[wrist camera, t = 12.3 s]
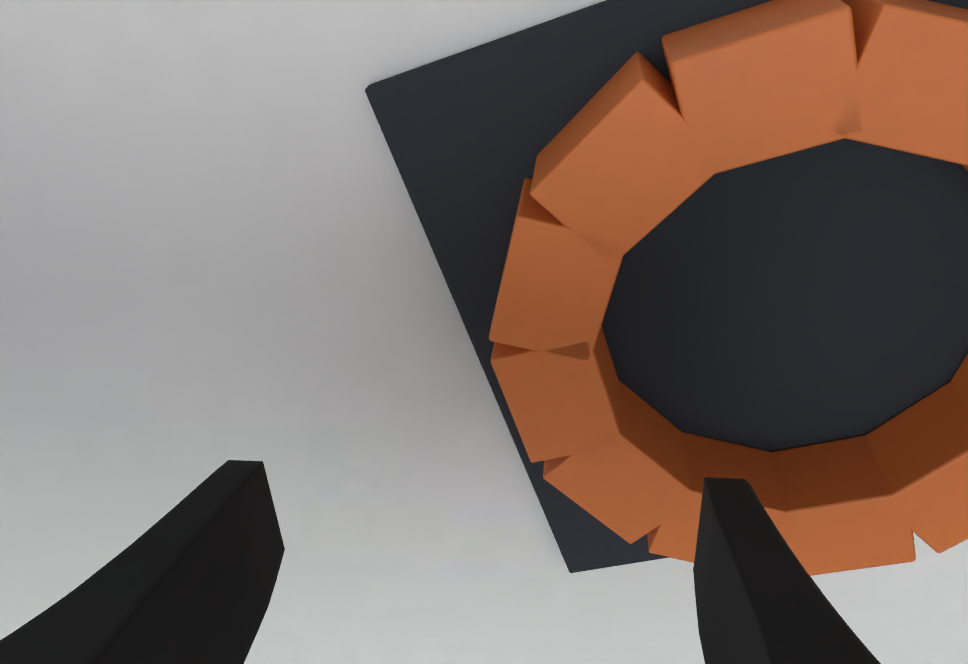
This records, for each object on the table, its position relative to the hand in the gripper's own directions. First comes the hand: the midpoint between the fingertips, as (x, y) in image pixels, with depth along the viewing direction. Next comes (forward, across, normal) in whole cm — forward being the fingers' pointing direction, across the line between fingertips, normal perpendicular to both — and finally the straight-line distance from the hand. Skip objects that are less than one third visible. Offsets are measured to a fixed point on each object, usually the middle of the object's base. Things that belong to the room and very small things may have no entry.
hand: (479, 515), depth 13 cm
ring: (+8, -7, 0) cm, 11 cm away
